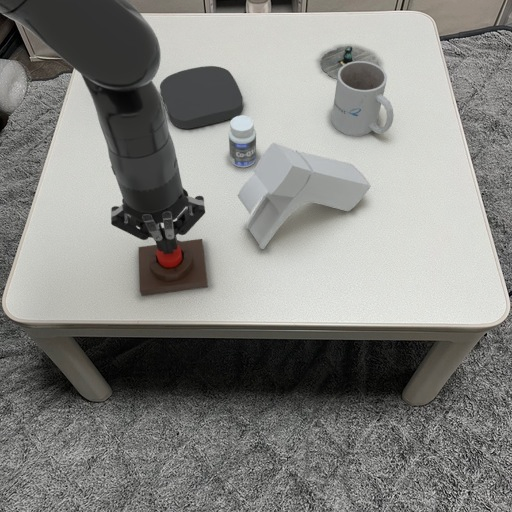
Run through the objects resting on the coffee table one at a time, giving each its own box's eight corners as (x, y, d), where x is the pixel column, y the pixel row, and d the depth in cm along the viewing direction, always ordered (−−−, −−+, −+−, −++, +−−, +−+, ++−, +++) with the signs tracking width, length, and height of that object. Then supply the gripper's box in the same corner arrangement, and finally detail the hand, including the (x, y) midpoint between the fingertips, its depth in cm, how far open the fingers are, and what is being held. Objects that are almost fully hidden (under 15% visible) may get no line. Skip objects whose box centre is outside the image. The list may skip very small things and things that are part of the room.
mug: (322, 114, 100) (328, 70, 92) (359, 100, 102) (368, 55, 94) (359, 154, 94) (368, 110, 85) (397, 138, 96) (410, 93, 88)
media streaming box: (248, 116, 100) (248, 104, 97) (175, 134, 97) (172, 121, 95) (225, 72, 108) (225, 59, 105) (157, 87, 105) (155, 75, 103)
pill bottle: (236, 171, 92) (234, 135, 85) (226, 154, 94) (223, 118, 87) (260, 163, 93) (260, 127, 86) (249, 146, 95) (248, 110, 88)
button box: (141, 296, 77) (137, 284, 75) (140, 253, 82) (136, 240, 79) (207, 287, 78) (205, 274, 75) (203, 244, 83) (200, 231, 80)
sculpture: (312, 73, 108) (322, 33, 105) (323, 79, 116) (333, 42, 114) (367, 86, 104) (379, 45, 102) (375, 91, 112) (386, 53, 110)
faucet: (373, 185, 83) (294, 164, 68) (312, 255, 91) (230, 250, 76) (350, 161, 86) (270, 135, 72) (294, 231, 94) (211, 220, 79)
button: (159, 270, 76) (156, 263, 75) (157, 250, 78) (155, 243, 77) (183, 266, 77) (181, 260, 75) (181, 247, 79) (180, 240, 77)
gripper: (198, 136, 64) (211, 223, 78) (90, 149, 63) (123, 234, 77) (204, 181, 59) (216, 264, 74) (88, 195, 59) (123, 276, 73)
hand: (168, 248), depth 75 cm, fingers closed
